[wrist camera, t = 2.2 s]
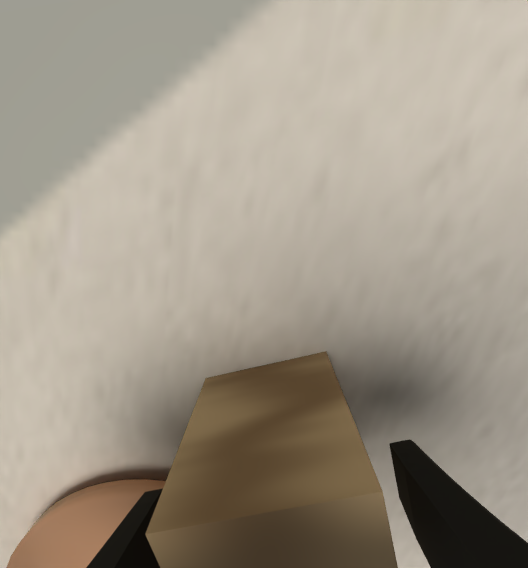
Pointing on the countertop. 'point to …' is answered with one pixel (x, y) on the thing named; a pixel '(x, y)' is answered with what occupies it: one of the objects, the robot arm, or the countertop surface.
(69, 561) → the peach round disc
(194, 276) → the countertop surface
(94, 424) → the countertop surface
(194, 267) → the countertop surface
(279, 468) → the oak block
